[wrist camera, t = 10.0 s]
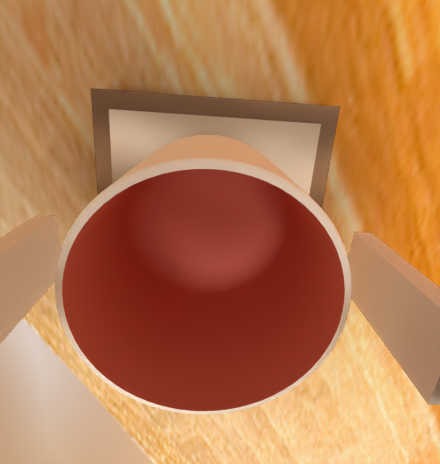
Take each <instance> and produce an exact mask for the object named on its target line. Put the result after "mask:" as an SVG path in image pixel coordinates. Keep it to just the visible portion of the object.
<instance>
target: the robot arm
mask: <svg viewBox="0 0 440 464" xmlns="http://www.w3.org/2000/svg"><path fill="white" fill-rule="evenodd" d="M60 251H61V249H60V241H59V233H58V225H57V217H56V216H55V215H37V216H35V217H34V218H32V219H30V220H29V221H27V222H26V223H24V224H22V225H21V226H19V227H18V228H16V229H15V230H13V231H11V232H10V233H8V234H7V235H5V236H4V237H2V238H0V343H1V342H2V341H3V340H4V339H5V338H6V336H7V335H8V334H9V333H10V332H11V331H12V329H14V327H15V326H16V325H17V324H18V323H19V321H21V320H22V318H23V317H24V316H25V315H26V314H27V313H28V312H29V310H30V309H31V308H32V307H33V306H34V305H35V304H36V303H37V301H38V300H39V299H40V298H41V297H42V296H43V295H44V294H45V292H46V291H47V290H48V289H49V288H50V287H51V286H52V284H53V283H54V282H55V276H56V269H57V262H58V257H59V254H60ZM348 260H349V264H350V271H351V280H352V293H351V298H352V300H353V301H354V302H355V304H356V305H357V307H358V308H359V309H360V311H361V312H362V314H363V315H364V316H365V318H366V319H367V320H368V322H369V323H370V325H371V326H372V327H373V329H374V330H375V332H376V333H377V334H378V336H379V337H380V338H381V340H382V341H383V343H384V344H385V345H386V347H387V348H388V350H389V351H390V352H391V354H392V355H393V356H394V358H395V359H396V361H397V362H398V363H399V365H400V366H401V368H402V369H403V370H404V372H405V373H406V374H407V376H408V377H409V379H410V380H411V381H412V383H413V384H414V386H415V387H416V388H417V390H418V391H419V392H420V394H421V395H422V397H423V398H424V399H425V401H426V402H427V404H428V405H440V287H438V286H437V285H436V284H434V283H433V282H432V281H431V280H429V279H428V278H427V277H426V276H424V275H423V274H422V273H421V272H419V271H418V270H417V269H416V268H414V267H413V266H412V265H411V264H409V263H408V262H407V261H406V260H404V259H403V258H402V257H401V256H399V255H398V254H397V253H396V252H394V251H393V250H392V249H391V248H389V247H388V246H387V245H386V244H385V243H383V242H382V241H381V240H380V239H378V238H377V237H376V236H375V235H373V234H372V233H365V232H354V237H353V241H352V245H351V249H350V254H349V258H348Z"/></svg>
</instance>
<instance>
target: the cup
mask: <svg viewBox="0 0 440 464" xmlns="http://www.w3.org/2000/svg"><path fill="white" fill-rule="evenodd" d="M351 293H352V280H351V271H350V264H349V260H348V256H347V253H346V249H345V246H344V244H343V242H342V240H341V237H340V235H339V233H338V231H337V229H336V228H335V226H334V225H333V223H332V221H331V220H330V218H329V217H328V216H327V214H326V213H325V212H324V211H323V209H322V208H321V207H320V206H319V205H318V204H317V203H316V202H315V201H314V200H313V199H312V198H311V197H310V196H309V195H308V194H307V193H306V192H305V191H303V190H302V189H301V188H300V187H299V186H298V185H297V184H296V183H295V182H293V181H292V180H291V179H290V178H289V177H288V176H287V175H286V174H284V173H283V172H282V171H281V170H280V169H279V168H278V167H277V166H276V165H274V164H273V163H272V162H271V161H270V160H269V159H268V158H267V157H265V156H264V155H263V154H262V153H260V152H259V151H258V150H256V149H255V148H253V147H251V146H249V145H248V144H246V143H243V142H241V141H238V140H236V139H232V138H229V137H224V136H219V135H195V136H189V137H184V138H181V139H178V140H175V141H173V142H170V143H168V144H166V145H164V146H162V147H161V148H159V149H157V150H156V151H155V152H153V153H152V154H151V155H149V156H148V157H147V158H146V159H144V160H143V161H142V162H140V163H139V164H138V165H136V166H135V167H134V168H132V169H131V170H130V171H128V172H127V173H126V174H125V175H123V176H122V177H121V178H119V179H118V180H117V181H115V182H114V183H113V184H111V185H110V186H109V187H107V188H106V189H105V190H104V191H102V192H101V193H100V194H98V195H97V196H96V197H95V198H94V199H93V200H92V201H91V202H90V203H89V204H88V205H87V206H86V207H85V209H84V210H83V211H82V212H81V213H80V215H79V216H78V217H77V219H76V220H75V222H74V223H73V225H72V226H71V228H70V230H69V232H68V234H67V236H66V238H65V240H64V243H63V245H62V247H61V251H60V254H59V257H58V262H57V269H56V276H55V297H56V304H57V310H58V313H59V317H60V321H61V324H62V326H63V329H64V331H65V334H66V336H67V337H68V339H69V341H70V343H71V345H72V347H73V348H74V350H75V351H76V352H77V354H78V355H79V356H80V358H81V359H82V360H83V362H84V363H85V364H86V365H87V366H88V367H89V368H90V369H91V370H92V371H93V372H94V373H95V374H96V375H97V376H98V377H99V378H101V379H102V380H103V381H104V382H106V383H107V384H108V385H110V386H111V387H113V388H114V389H116V390H117V391H119V392H121V393H122V394H124V395H126V396H128V397H130V398H132V399H134V400H136V401H139V402H141V403H144V404H147V405H149V406H152V407H156V408H159V409H163V410H167V411H173V412H178V413H187V414H221V413H229V412H235V411H240V410H244V409H248V408H251V407H255V406H258V405H261V404H263V403H266V402H269V401H271V400H273V399H275V398H277V397H279V396H281V395H283V394H285V393H286V392H288V391H290V390H291V389H293V388H294V387H296V386H297V385H299V384H300V383H301V382H303V381H304V380H305V379H307V378H308V377H309V376H310V375H311V374H312V373H313V372H314V371H315V370H316V369H317V368H318V367H319V366H320V365H321V364H322V363H323V361H324V360H325V359H326V358H327V357H328V355H329V354H330V352H331V351H332V349H333V348H334V346H335V344H336V342H337V340H338V339H339V337H340V335H341V333H342V331H343V328H344V325H345V323H346V320H347V316H348V312H349V308H350V302H351Z"/></svg>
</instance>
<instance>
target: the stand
mask: <svg viewBox="0 0 440 464" xmlns="http://www.w3.org/2000/svg"><path fill="white" fill-rule="evenodd" d="M91 98H92V113H93V128H94V143H95V158H96V173H97V188H98V194H100V193H101V192H102V191H104V190H105V189H106V188H107V187H109V186H110V185H111V184H113V183H114V182H115V181H117V180H118V179H119V178H121V177H122V176H123V175H125V174H126V173H127V172H128V171H130V170H131V169H132V168H134V167H135V166H136V165H138V164H139V163H140V162H142V161H143V160H144V159H146V158H147V157H148V156H149V155H151V154H152V153H153V152H155V151H156V150H157V149H159V148H161V147H162V146H164V145H166V144H168V143H170V142H173V141H175V140H178V139H181V138H184V137H189V136H195V135H219V136H224V137H229V138H232V139H236V140H238V141H241V142H243V143H246V144H248V145H249V146H251V147H253V148H255V149H256V150H258V151H259V152H260V153H262V154H263V155H264V156H265V157H267V158H268V159H269V160H270V161H271V162H272V163H273V164H274V165H276V166H277V167H278V168H279V169H280V170H281V171H282V172H283V173H284V174H286V175H287V176H288V177H289V178H290V179H291V180H292V181H293V182H295V183H296V184H297V185H298V186H299V187H300V188H301V189H302V190H303V191H305V192H306V193H307V194H308V195H309V196H310V197H311V198H312V199H313V200H314V201H315V202H316V203H317V204H318V205H319V206H320V207H321V208H322V203H323V197H324V192H325V186H326V181H327V175H328V170H329V164H330V159H331V154H332V148H333V143H334V137H335V132H336V126H337V121H338V115H339V110H340V107H338V106H325V105H311V104H297V103H283V102H270V101H256V100H242V99H229V98H215V97H201V96H188V95H174V94H160V93H147V92H133V91H119V90H106V89H92V88H91Z"/></svg>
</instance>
